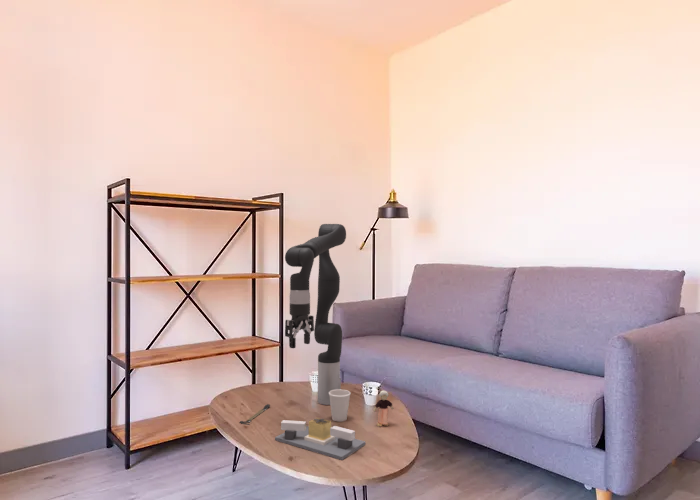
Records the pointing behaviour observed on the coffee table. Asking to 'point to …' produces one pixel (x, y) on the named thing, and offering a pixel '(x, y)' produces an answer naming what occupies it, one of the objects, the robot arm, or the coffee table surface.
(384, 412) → the grandmother figurine
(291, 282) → the robot arm
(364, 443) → the lever control panel
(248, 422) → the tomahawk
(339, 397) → the dixie cup
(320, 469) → the coffee table surface
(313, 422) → the yellow plus-sign block
